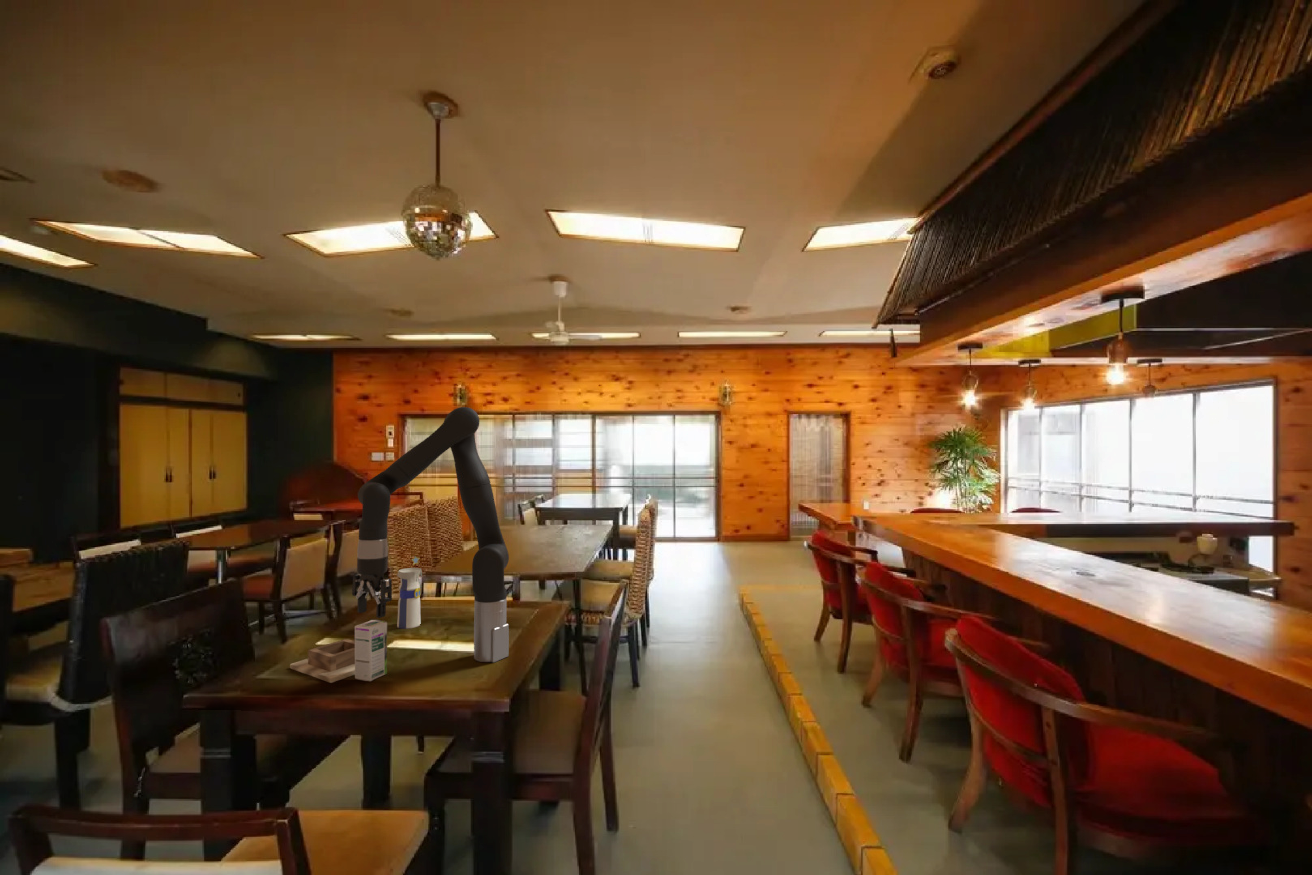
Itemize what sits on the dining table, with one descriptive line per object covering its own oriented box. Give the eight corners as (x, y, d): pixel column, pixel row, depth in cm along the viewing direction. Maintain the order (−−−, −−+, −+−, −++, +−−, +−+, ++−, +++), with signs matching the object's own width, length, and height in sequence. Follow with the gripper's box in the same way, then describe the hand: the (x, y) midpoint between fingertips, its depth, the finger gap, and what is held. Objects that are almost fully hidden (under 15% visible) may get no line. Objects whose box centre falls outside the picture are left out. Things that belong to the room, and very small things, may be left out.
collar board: (386, 663, 165) (386, 645, 165) (330, 682, 151) (331, 663, 151) (345, 651, 175) (345, 634, 175) (290, 668, 161) (290, 649, 161)
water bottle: (427, 622, 204) (428, 552, 205) (412, 629, 196) (413, 556, 197) (407, 620, 206) (408, 551, 207) (391, 627, 198) (392, 555, 198)
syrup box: (370, 681, 152) (371, 626, 152) (353, 678, 154) (354, 624, 154) (387, 674, 157) (388, 621, 157) (370, 671, 159) (371, 618, 159)
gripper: (401, 555, 156) (399, 615, 155) (369, 550, 163) (368, 607, 163) (375, 560, 149) (374, 622, 149) (344, 554, 157) (342, 613, 156)
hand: (371, 614), depth 156 cm, fingers open, 8 cm apart
